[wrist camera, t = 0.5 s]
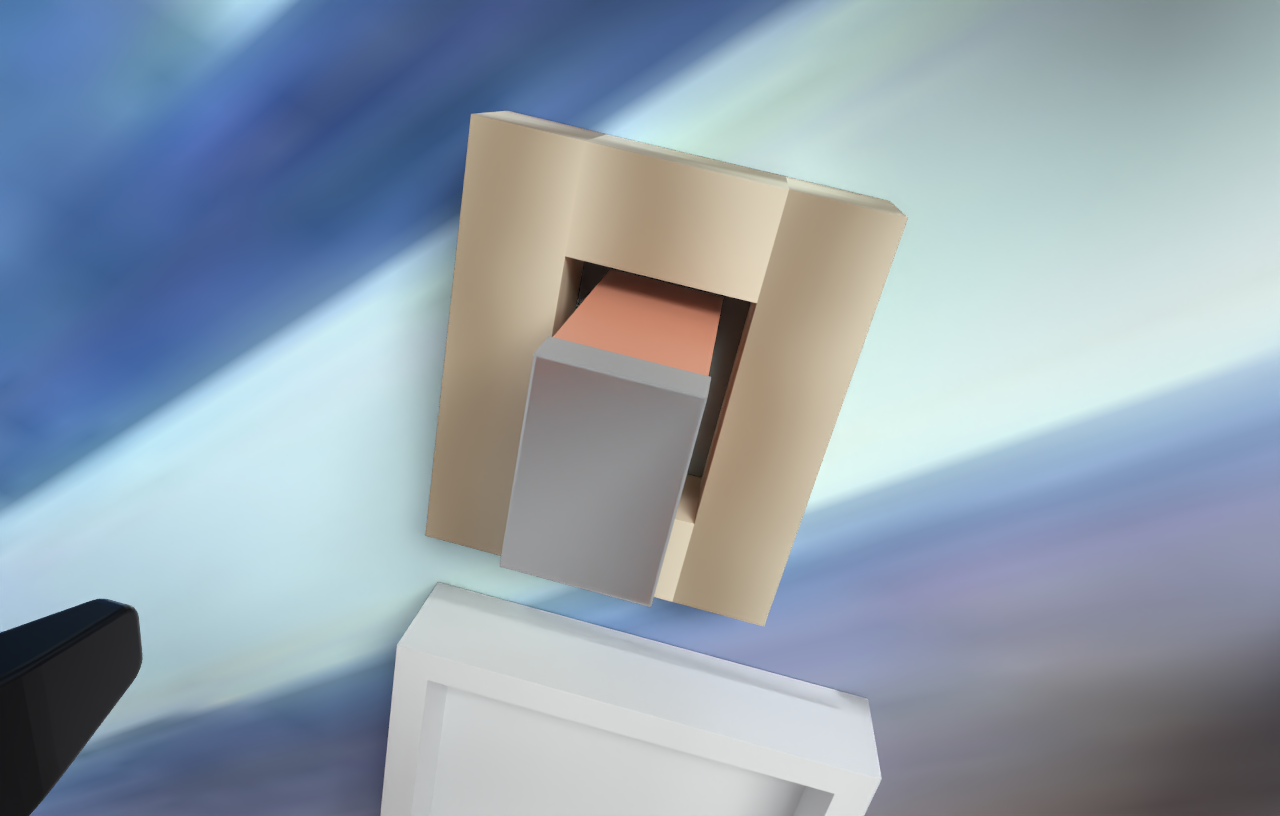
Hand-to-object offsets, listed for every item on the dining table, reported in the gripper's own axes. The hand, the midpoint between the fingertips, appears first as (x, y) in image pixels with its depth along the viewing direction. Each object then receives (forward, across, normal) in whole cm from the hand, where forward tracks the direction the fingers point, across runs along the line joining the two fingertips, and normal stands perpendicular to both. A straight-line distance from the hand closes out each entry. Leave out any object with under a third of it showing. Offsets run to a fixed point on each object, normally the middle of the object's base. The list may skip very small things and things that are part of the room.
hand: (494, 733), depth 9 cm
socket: (+13, 0, 0) cm, 13 cm away
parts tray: (+13, -2, +15) cm, 20 cm away
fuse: (+13, 0, 0) cm, 13 cm away
